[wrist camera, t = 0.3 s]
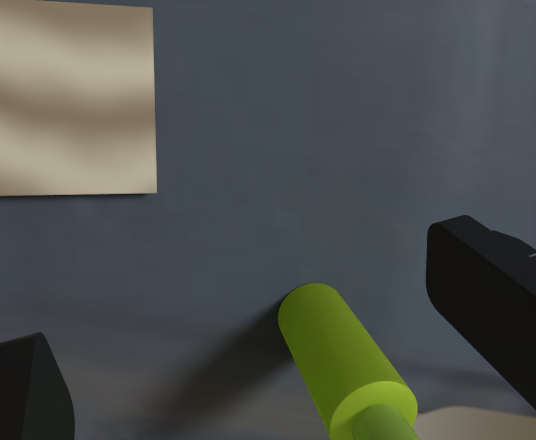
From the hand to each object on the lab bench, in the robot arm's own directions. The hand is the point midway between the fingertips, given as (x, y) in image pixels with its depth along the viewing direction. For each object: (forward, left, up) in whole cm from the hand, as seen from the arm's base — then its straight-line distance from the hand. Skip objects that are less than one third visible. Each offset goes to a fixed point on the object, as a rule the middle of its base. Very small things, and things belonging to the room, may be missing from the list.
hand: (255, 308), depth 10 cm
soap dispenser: (+17, +12, -28) cm, 34 cm away
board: (0, -7, -27) cm, 28 cm away
